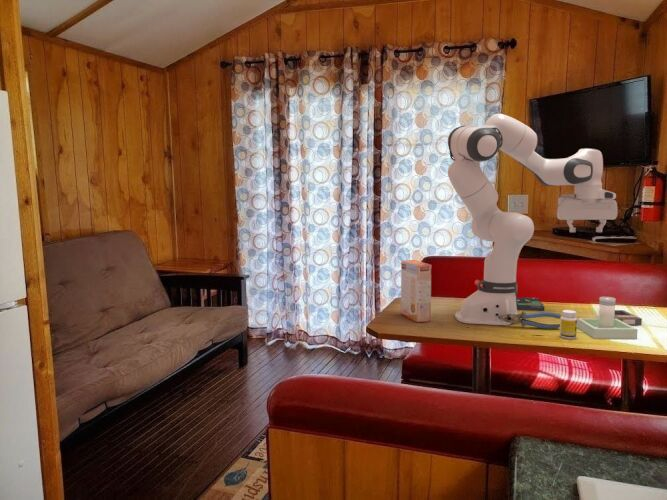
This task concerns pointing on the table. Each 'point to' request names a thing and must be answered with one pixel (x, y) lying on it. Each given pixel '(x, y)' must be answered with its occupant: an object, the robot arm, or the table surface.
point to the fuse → (606, 312)
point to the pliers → (517, 318)
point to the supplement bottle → (568, 324)
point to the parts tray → (607, 329)
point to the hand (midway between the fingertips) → (585, 232)
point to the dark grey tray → (627, 317)
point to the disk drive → (529, 304)
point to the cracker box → (416, 290)
